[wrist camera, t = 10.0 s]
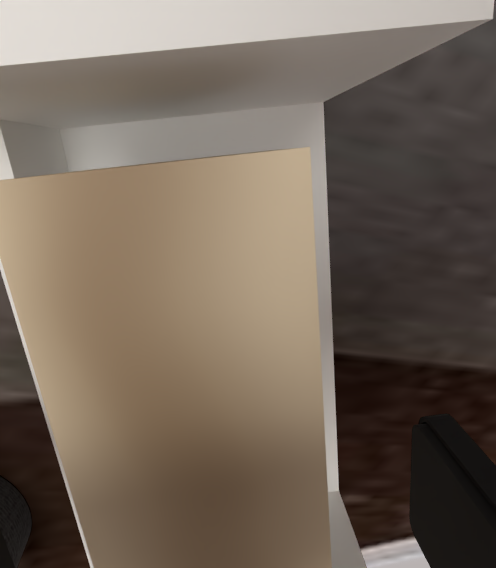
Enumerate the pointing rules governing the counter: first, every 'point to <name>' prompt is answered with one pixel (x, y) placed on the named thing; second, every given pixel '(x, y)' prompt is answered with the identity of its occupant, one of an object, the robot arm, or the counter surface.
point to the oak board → (179, 355)
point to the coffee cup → (14, 520)
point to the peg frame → (204, 105)
